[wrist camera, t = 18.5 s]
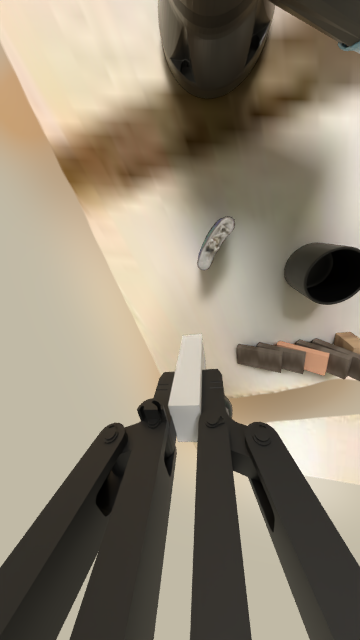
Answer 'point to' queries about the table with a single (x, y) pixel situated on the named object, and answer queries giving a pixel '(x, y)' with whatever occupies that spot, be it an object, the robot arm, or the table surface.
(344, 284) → the mug
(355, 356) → the domino
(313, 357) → the domino
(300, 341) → the domino
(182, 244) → the table surface
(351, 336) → the bookend
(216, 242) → the flask
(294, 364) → the domino
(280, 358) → the domino
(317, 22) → the robot arm
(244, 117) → the table surface
